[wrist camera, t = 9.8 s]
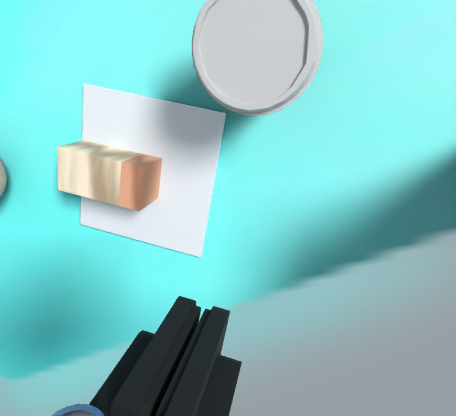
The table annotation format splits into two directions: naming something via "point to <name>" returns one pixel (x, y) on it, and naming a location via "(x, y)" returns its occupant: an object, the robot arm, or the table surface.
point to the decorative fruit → (2, 178)
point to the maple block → (109, 174)
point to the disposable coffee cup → (257, 52)
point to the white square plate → (170, 171)
